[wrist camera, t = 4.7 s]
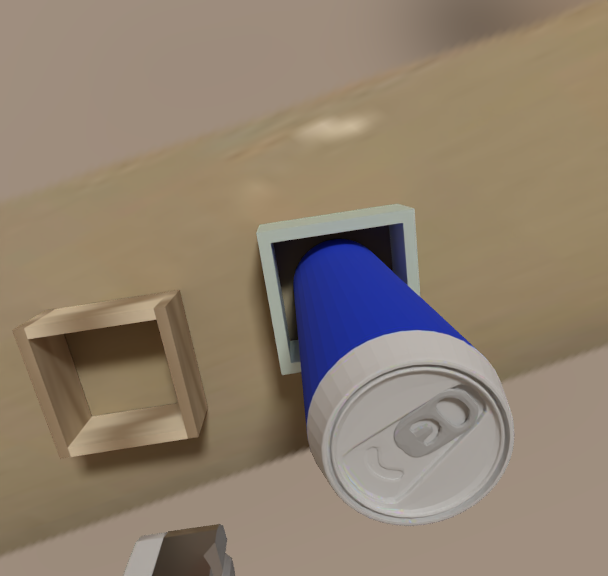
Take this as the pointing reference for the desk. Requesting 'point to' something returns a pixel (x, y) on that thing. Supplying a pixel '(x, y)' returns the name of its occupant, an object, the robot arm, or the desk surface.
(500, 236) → the desk surface
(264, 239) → the bin sage
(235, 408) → the desk surface
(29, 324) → the bin oak
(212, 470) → the desk surface
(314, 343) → the beverage can
